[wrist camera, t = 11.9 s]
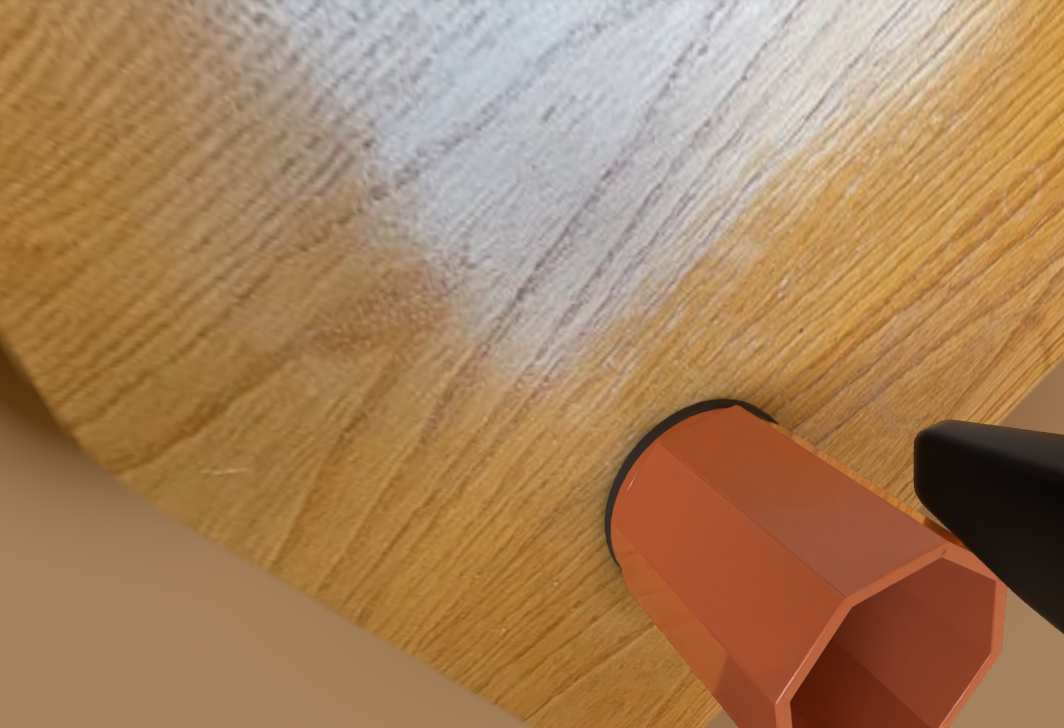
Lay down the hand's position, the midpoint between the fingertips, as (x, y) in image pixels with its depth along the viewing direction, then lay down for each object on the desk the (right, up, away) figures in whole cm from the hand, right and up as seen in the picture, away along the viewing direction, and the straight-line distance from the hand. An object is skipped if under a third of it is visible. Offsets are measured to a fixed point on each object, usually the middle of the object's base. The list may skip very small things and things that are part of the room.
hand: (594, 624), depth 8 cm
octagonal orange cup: (+5, -2, +16) cm, 17 cm away
